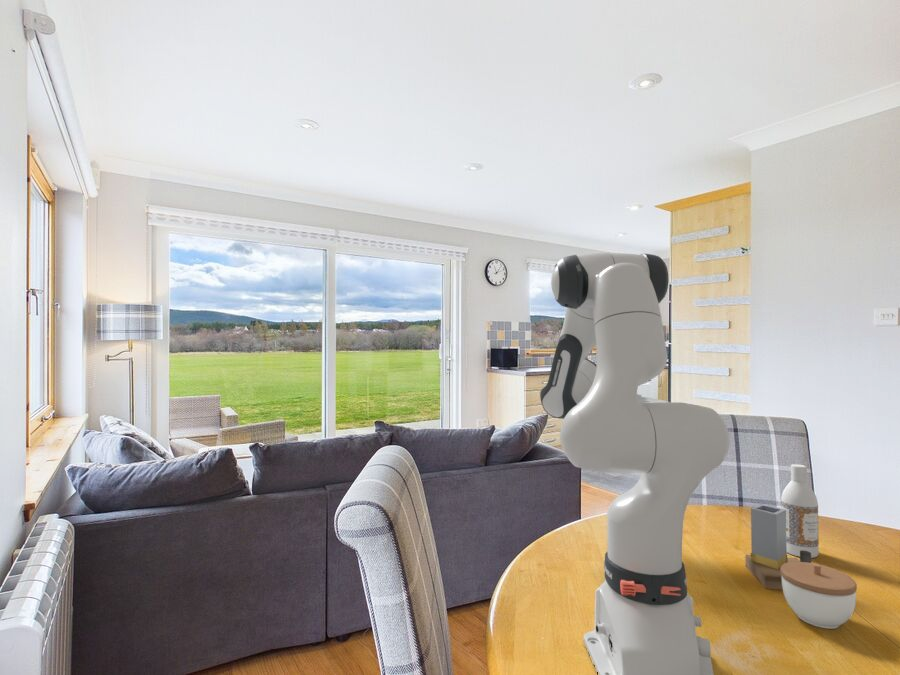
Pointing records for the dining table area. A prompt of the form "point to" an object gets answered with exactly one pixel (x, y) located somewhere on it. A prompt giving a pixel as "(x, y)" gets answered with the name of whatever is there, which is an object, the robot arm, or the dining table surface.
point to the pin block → (772, 571)
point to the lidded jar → (818, 593)
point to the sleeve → (768, 536)
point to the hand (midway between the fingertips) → (668, 414)
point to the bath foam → (800, 514)
